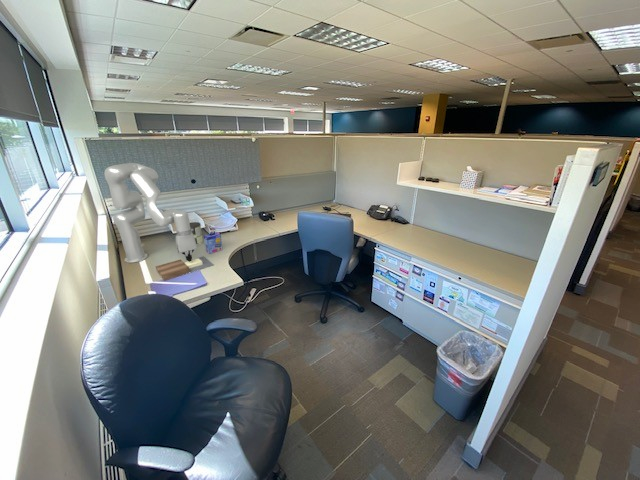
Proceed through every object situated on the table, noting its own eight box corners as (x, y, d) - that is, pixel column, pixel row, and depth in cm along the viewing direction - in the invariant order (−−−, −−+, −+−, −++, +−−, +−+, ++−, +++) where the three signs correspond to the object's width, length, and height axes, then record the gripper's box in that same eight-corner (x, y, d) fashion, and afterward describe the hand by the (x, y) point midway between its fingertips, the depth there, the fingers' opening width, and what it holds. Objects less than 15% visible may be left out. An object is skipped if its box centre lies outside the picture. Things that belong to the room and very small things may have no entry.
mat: (181, 263, 171) (181, 262, 171) (203, 256, 180) (203, 256, 180) (190, 272, 160) (190, 272, 160) (213, 265, 169) (213, 264, 169)
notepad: (184, 265, 168) (183, 262, 167) (199, 261, 174) (198, 258, 173) (187, 269, 164) (187, 266, 163) (202, 264, 169) (202, 261, 169)
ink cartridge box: (209, 254, 183) (206, 234, 178) (205, 251, 187) (202, 232, 181) (223, 249, 190) (220, 230, 184) (219, 247, 193) (216, 228, 188)
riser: (156, 271, 162) (155, 266, 161) (181, 263, 171) (180, 259, 170) (164, 280, 152) (163, 276, 151) (190, 272, 161) (189, 267, 160)
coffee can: (190, 246, 195) (186, 227, 189) (186, 241, 202) (183, 223, 197) (205, 243, 200) (202, 225, 195) (201, 238, 208) (198, 221, 203)
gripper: (194, 227, 166) (199, 255, 174) (168, 233, 157) (174, 262, 164) (199, 231, 161) (204, 259, 168) (172, 237, 152) (178, 266, 159)
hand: (189, 260), depth 166 cm, fingers closed
